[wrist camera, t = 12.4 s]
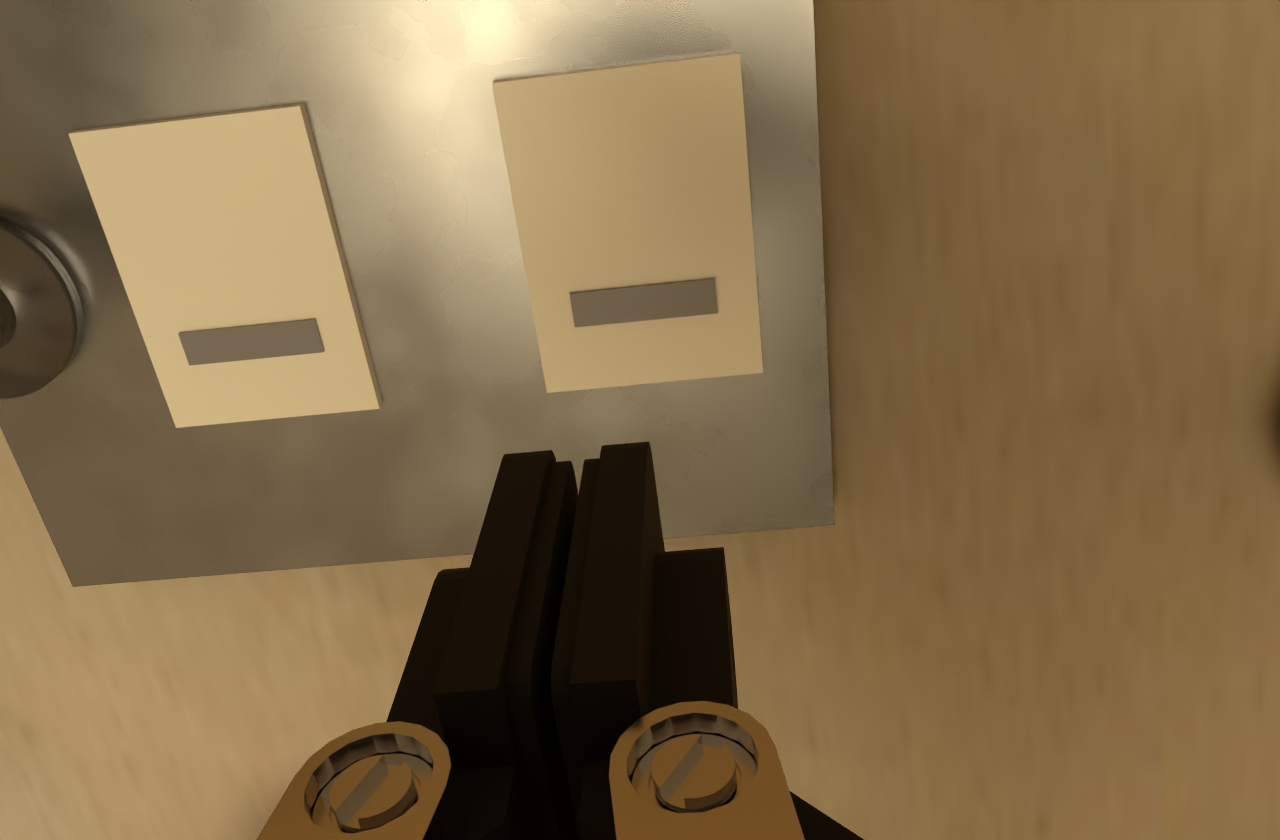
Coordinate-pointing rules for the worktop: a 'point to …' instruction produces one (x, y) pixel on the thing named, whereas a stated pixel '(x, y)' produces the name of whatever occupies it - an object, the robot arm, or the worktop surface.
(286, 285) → the label
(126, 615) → the worktop surface
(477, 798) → the robot arm
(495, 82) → the label
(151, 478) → the plate
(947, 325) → the worktop surface
